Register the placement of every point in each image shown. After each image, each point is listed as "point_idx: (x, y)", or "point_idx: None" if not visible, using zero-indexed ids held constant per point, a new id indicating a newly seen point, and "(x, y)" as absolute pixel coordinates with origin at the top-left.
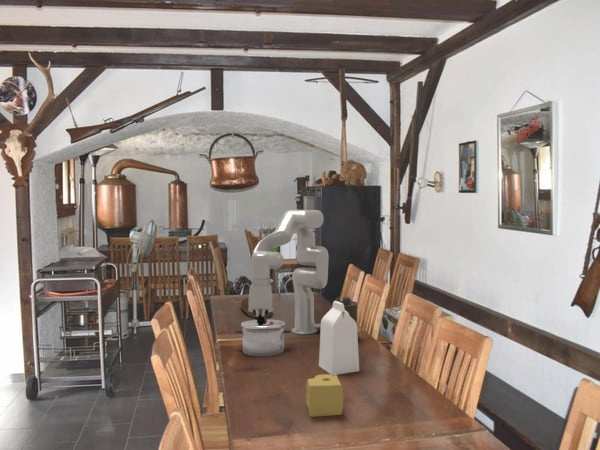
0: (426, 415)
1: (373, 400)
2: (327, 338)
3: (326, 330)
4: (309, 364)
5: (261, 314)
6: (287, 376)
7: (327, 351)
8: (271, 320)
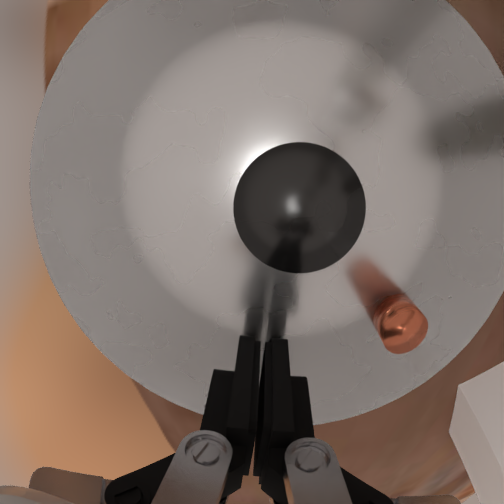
0: (458, 491)
1: (437, 485)
2: (485, 485)
3: (494, 500)
4: (441, 376)
5: (266, 476)
6: (342, 450)
7: (472, 458)
8: (403, 17)
